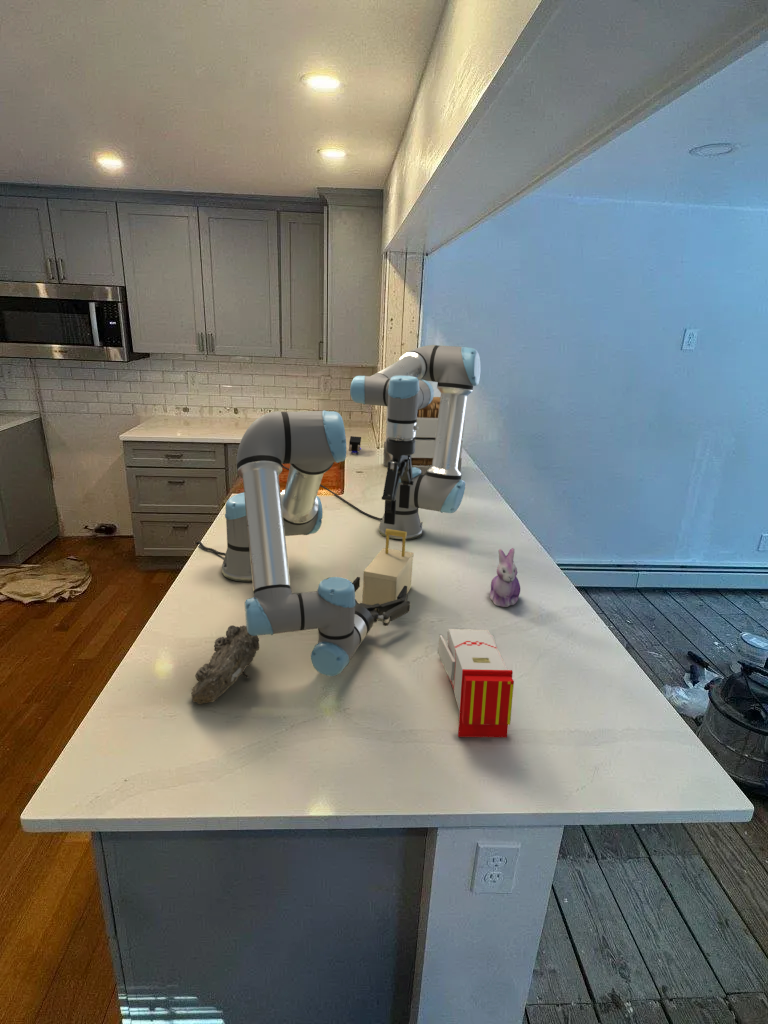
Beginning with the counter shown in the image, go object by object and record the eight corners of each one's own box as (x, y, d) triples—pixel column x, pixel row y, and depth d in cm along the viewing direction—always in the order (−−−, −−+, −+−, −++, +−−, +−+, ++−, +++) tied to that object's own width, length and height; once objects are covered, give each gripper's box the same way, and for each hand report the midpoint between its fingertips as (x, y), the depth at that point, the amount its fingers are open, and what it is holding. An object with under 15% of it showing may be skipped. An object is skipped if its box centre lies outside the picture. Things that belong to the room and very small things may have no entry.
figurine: (502, 611, 151) (509, 560, 146) (479, 594, 159) (485, 545, 154) (530, 604, 155) (537, 554, 150) (506, 588, 163) (512, 540, 158)
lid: (383, 551, 162) (384, 523, 159) (413, 556, 159) (415, 528, 156) (363, 575, 147) (364, 545, 144) (396, 581, 144) (398, 550, 141)
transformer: (382, 463, 289) (386, 382, 275) (445, 464, 293) (451, 384, 279) (390, 482, 257) (394, 392, 243) (460, 483, 261) (468, 394, 247)
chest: (380, 582, 164) (382, 552, 161) (410, 587, 162) (412, 557, 159) (362, 607, 150) (363, 575, 147) (394, 613, 147) (396, 581, 144)
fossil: (211, 627, 129) (258, 597, 124) (240, 656, 132) (287, 627, 127) (170, 698, 110) (224, 665, 105) (204, 729, 113) (259, 699, 108)
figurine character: (360, 458, 303) (361, 448, 316) (361, 444, 299) (361, 435, 313) (348, 457, 302) (349, 447, 316) (348, 444, 299) (349, 434, 312)
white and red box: (488, 613, 130) (523, 677, 101) (484, 667, 133) (517, 744, 104) (435, 612, 130) (455, 676, 101) (432, 666, 133) (451, 743, 103)
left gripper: (303, 629, 134) (338, 590, 153) (403, 651, 127) (426, 607, 146) (303, 601, 131) (338, 565, 150) (404, 622, 124) (428, 581, 144)
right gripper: (401, 449, 133) (397, 533, 141) (426, 430, 156) (421, 503, 163) (371, 446, 136) (368, 528, 143) (400, 427, 158) (396, 499, 165)
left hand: (381, 585), depth 148 cm, fingers open, 12 cm apart
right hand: (396, 515), depth 153 cm, fingers open, 13 cm apart
